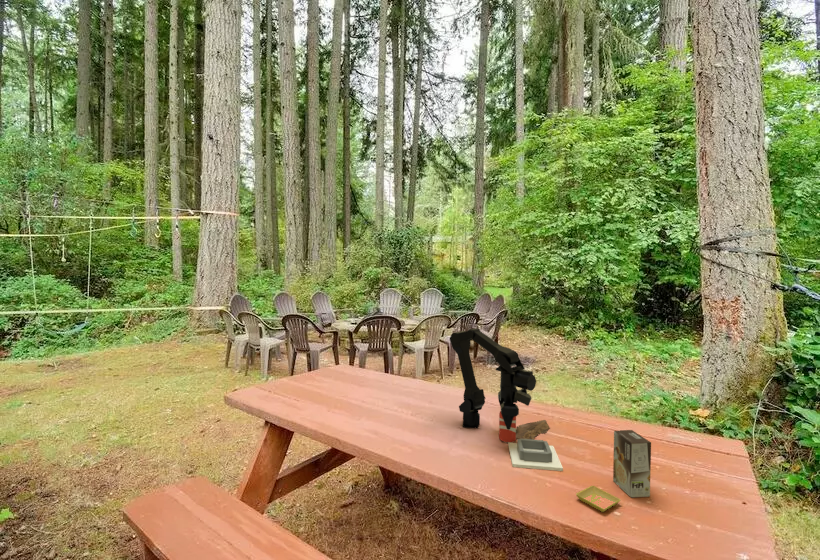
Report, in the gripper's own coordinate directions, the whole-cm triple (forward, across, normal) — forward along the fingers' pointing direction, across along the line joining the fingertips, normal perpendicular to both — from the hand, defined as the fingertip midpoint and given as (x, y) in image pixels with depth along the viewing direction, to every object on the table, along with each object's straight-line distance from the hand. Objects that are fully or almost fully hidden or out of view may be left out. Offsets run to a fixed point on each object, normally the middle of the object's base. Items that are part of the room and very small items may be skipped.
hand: (507, 424), depth 150 cm
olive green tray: (+7, -36, -22) cm, 43 cm away
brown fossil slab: (+7, +12, -11) cm, 18 cm away
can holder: (+6, -12, -8) cm, 16 cm away
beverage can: (+6, 0, 0) cm, 7 cm away
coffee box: (+6, -27, -34) cm, 44 cm away
